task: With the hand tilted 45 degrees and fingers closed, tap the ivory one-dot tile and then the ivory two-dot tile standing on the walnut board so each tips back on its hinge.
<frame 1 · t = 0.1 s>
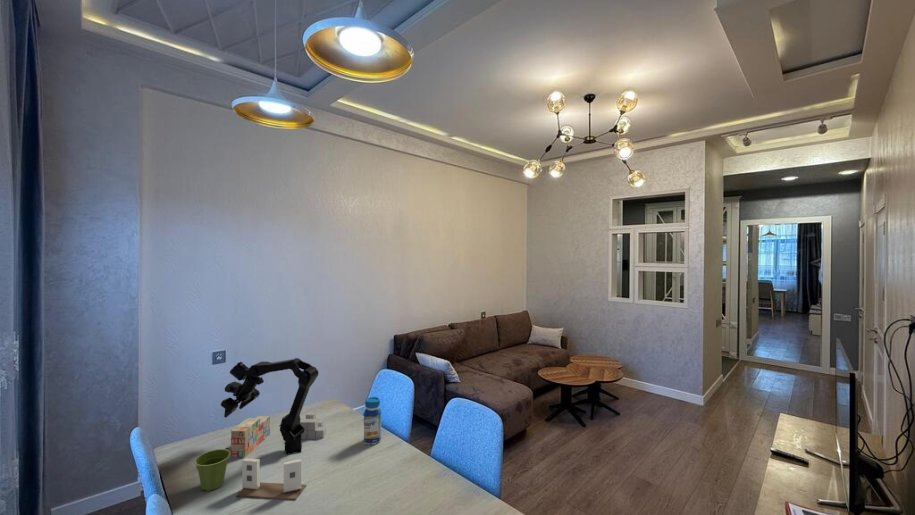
hand: (232, 412, 177), 15 cm above the table, tool tilted 35°, fingers open, 9 cm apart
tile 1: (292, 476, 142), point 6 cm above the table, hinge at 0.0°
puzzle cube: (315, 432, 189), on the table
plant pot: (213, 486, 146), on the table
beverage bottle: (372, 441, 181), on the table
stack of blocks: (251, 445, 176), on the table
tile board: (271, 491, 143), on the table
tile 2: (250, 474, 143), point 6 cm above the table, hinge at 0.0°
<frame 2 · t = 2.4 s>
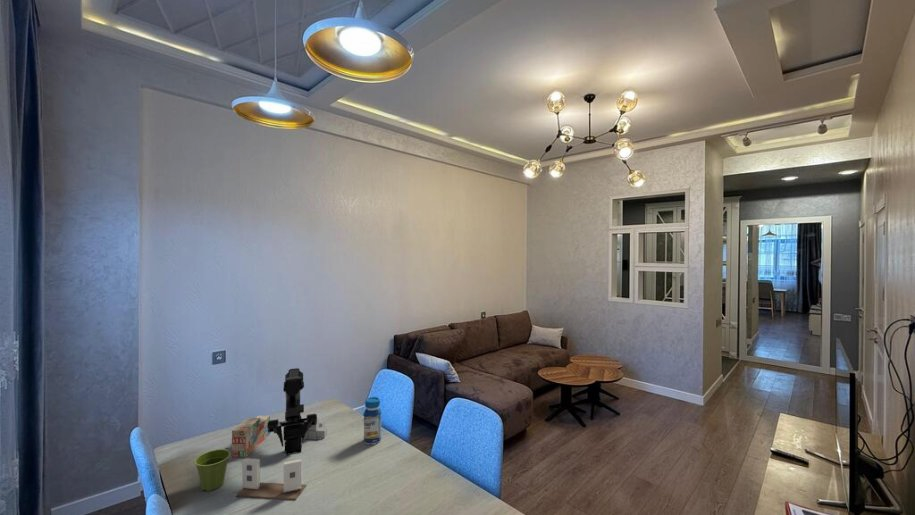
hand: (292, 444, 151), 14 cm above the table, tool tilted 45°, fingers open, 7 cm apart
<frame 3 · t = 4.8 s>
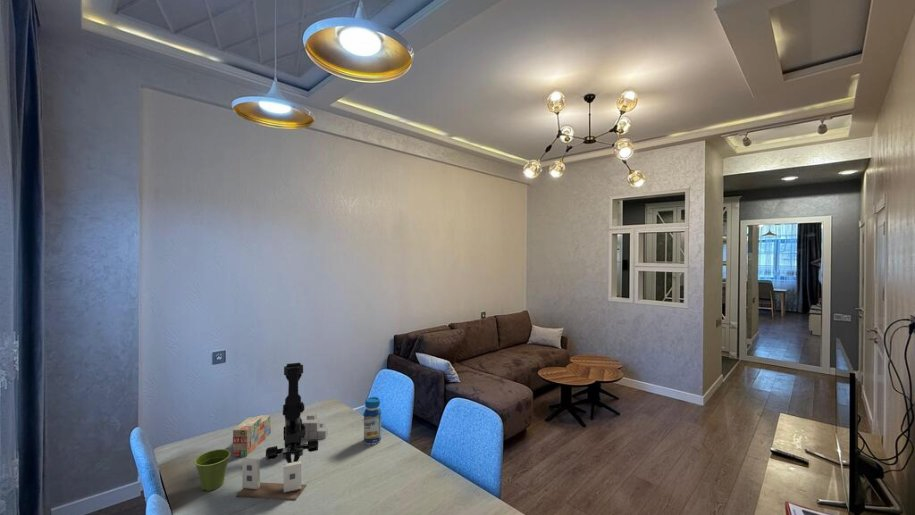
hand: (292, 472, 142), 7 cm above the table, tool tilted 45°, fingers closed, pressing on tile 1
tile 1: (292, 477, 141), point 6 cm above the table, hinge at 7.4°, touching gripper
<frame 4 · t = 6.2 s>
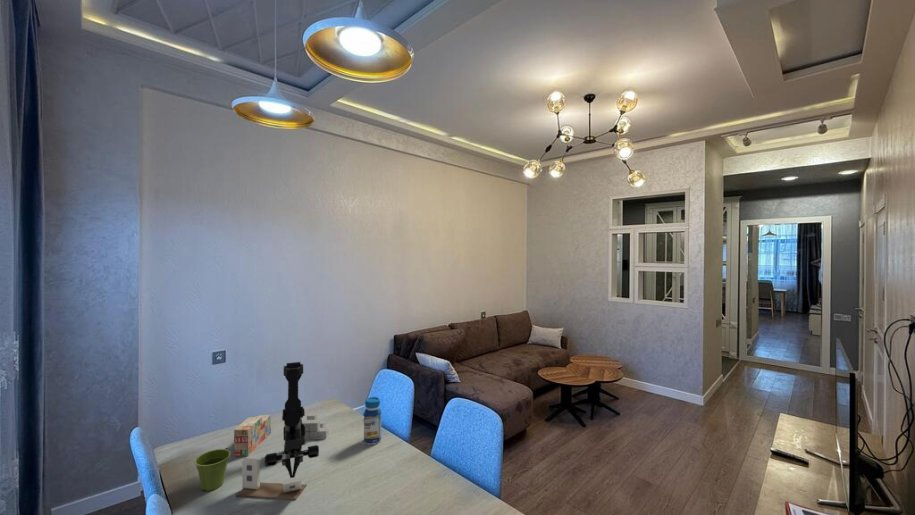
hand: (292, 480, 138), 7 cm above the table, tool tilted 45°, fingers closed
tile 1: (292, 485, 139), point 5 cm above the table, hinge at 45.2°
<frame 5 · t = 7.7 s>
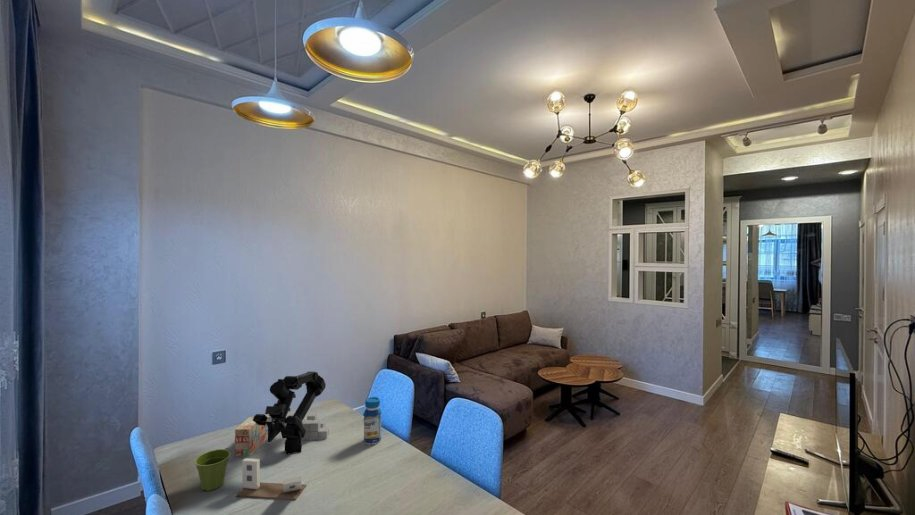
hand: (268, 442, 153), 13 cm above the table, tool tilted 45°, fingers closed
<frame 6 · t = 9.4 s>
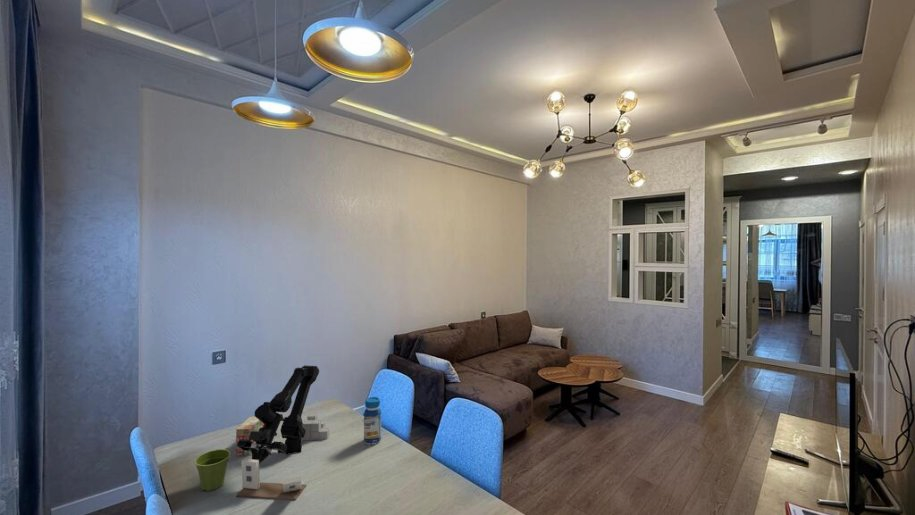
hand: (252, 470, 144), 7 cm above the table, tool tilted 45°, fingers closed, pressing on tile 2
tile 2: (250, 474, 143), point 6 cm above the table, hinge at 2.8°, touching gripper
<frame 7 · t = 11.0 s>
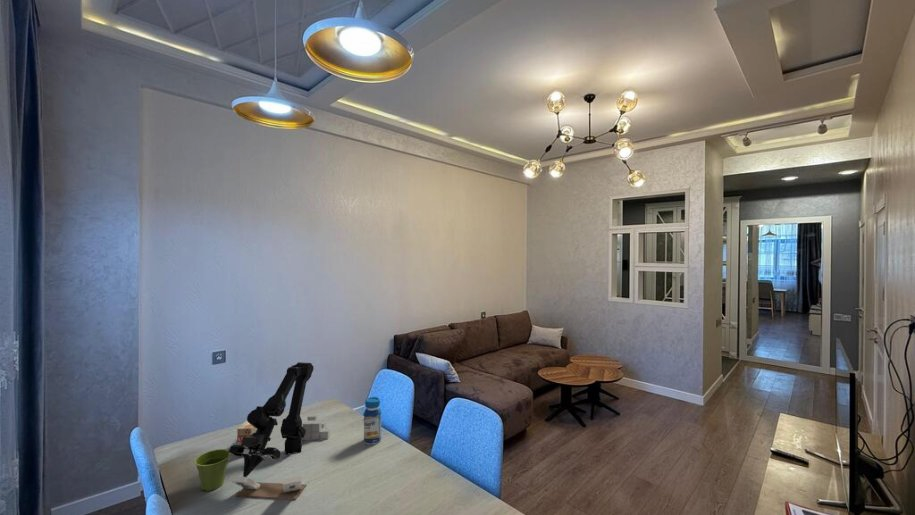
hand: (244, 476, 140), 7 cm above the table, tool tilted 45°, fingers closed
tile 2: (245, 483, 140), point 5 cm above the table, hinge at 45.4°
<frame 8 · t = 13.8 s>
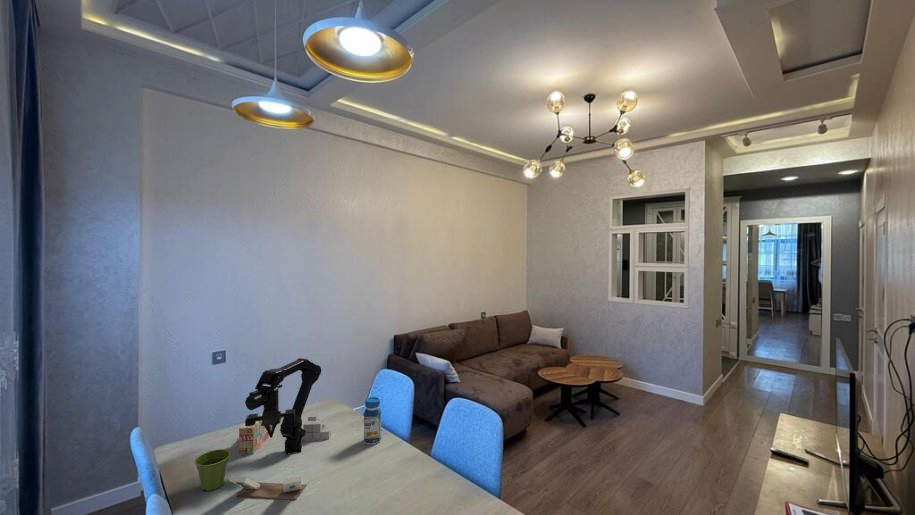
hand: (271, 437, 160), 12 cm above the table, tool pointing down, fingers closed
at the end: tile 1 at +45° (first picture: +0°); tile 2 at +45° (first picture: +0°); plant pot moved 0.2 cm from its start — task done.
